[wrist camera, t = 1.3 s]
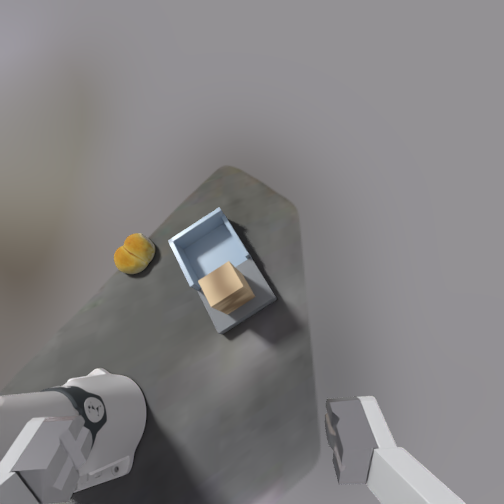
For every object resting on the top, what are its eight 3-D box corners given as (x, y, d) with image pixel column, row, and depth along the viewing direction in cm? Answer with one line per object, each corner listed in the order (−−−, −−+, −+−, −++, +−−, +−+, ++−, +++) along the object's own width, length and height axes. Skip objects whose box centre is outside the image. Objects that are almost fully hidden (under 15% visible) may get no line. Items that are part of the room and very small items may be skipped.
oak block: (227, 314, 53) (210, 307, 46) (215, 291, 55) (197, 280, 48) (255, 296, 53) (243, 286, 46) (242, 274, 55) (228, 260, 48)
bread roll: (113, 261, 66) (101, 255, 63) (140, 231, 67) (130, 223, 64) (135, 283, 63) (122, 278, 59) (163, 251, 64) (153, 244, 60)
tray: (201, 292, 58) (190, 286, 54) (179, 249, 63) (167, 240, 58) (252, 259, 58) (245, 250, 53) (227, 218, 62) (219, 207, 58)
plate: (222, 334, 54) (218, 333, 53) (201, 293, 58) (197, 291, 56) (277, 299, 54) (275, 296, 52) (253, 260, 58) (250, 257, 56)
